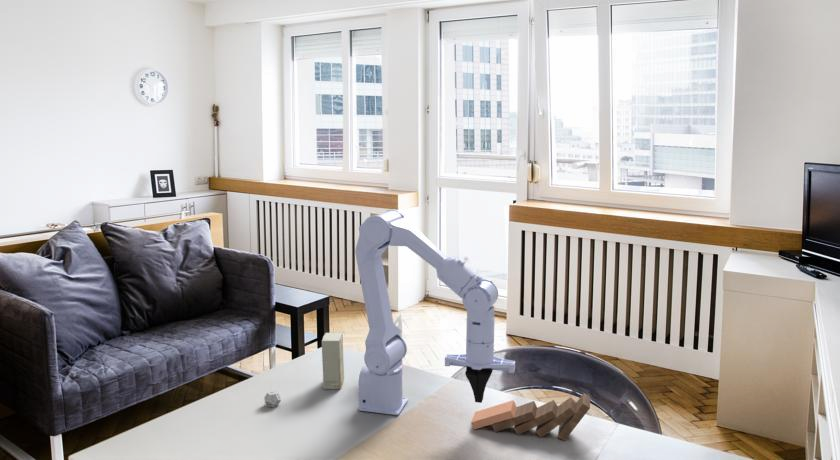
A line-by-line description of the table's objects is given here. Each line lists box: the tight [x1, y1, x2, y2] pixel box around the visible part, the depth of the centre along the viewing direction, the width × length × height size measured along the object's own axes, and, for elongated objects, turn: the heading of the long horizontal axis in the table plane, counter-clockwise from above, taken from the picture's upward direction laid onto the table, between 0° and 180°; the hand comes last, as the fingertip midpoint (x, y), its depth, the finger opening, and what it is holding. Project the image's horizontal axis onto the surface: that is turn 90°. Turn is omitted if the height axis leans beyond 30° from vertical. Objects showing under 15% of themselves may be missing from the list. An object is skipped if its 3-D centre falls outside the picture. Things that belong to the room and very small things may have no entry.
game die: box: [263, 390, 282, 408], centre depth 150 cm, size 4×4×3 cm
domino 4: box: [557, 392, 591, 442], centre depth 135 cm, size 2×5×9 cm
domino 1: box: [491, 400, 538, 433], centre depth 139 cm, size 2×5×9 cm
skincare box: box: [321, 332, 345, 390], centre depth 160 cm, size 6×4×12 cm
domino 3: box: [535, 396, 577, 439], centre depth 137 cm, size 2×5×9 cm
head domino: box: [470, 399, 517, 430], centre depth 140 cm, size 2×5×9 cm
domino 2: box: [513, 399, 559, 436], centre depth 138 cm, size 2×5×9 cm
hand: (479, 400), depth 140 cm, fingers closed
